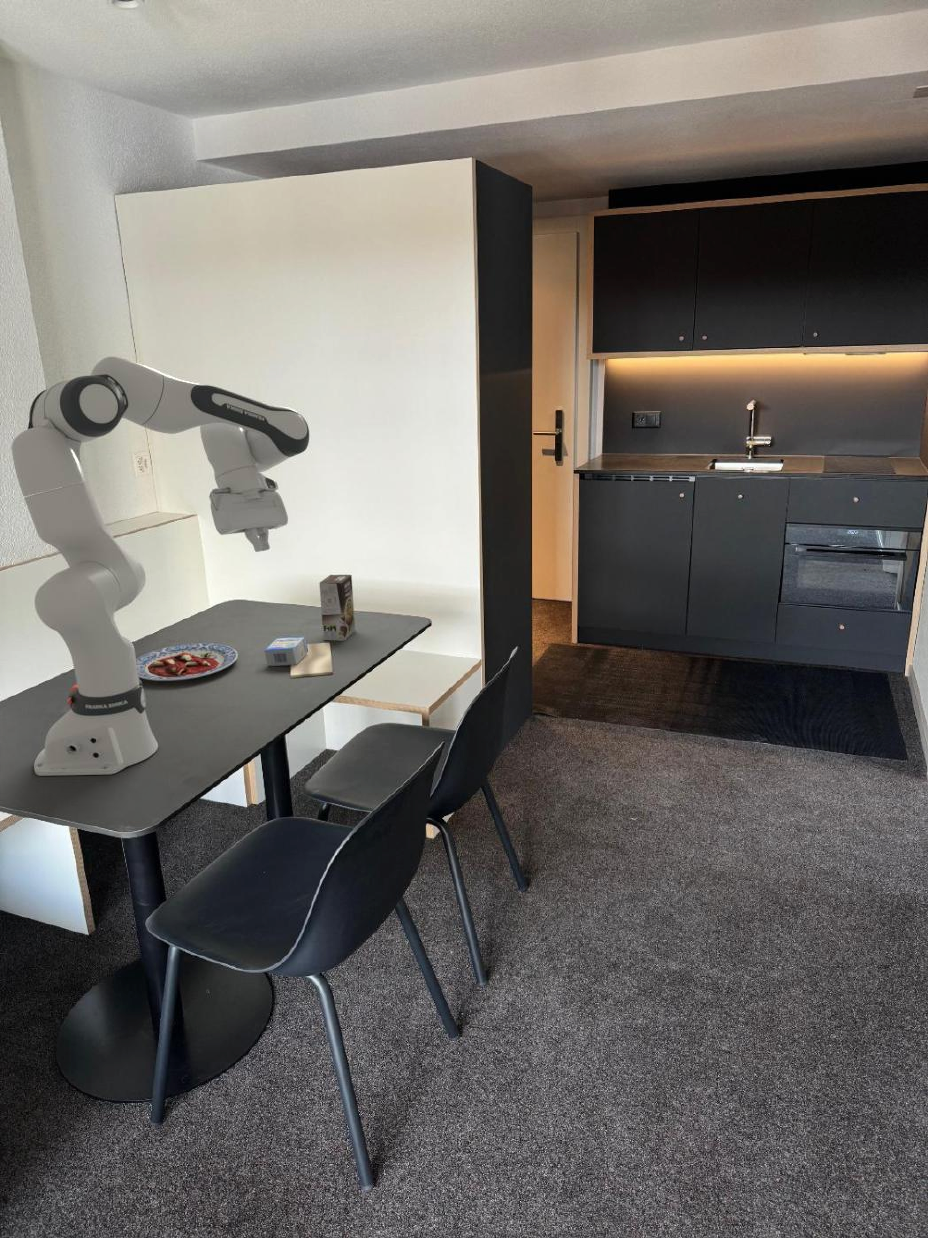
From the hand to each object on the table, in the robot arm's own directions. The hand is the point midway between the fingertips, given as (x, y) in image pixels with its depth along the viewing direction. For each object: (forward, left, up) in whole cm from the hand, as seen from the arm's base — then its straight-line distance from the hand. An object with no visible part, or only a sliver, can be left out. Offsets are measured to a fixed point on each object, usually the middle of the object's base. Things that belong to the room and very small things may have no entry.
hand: (263, 550), depth 182 cm
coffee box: (+15, +46, -36) cm, 61 cm away
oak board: (+7, +28, -35) cm, 46 cm away
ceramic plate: (-24, +31, -36) cm, 53 cm away
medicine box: (0, +25, -33) cm, 41 cm away
